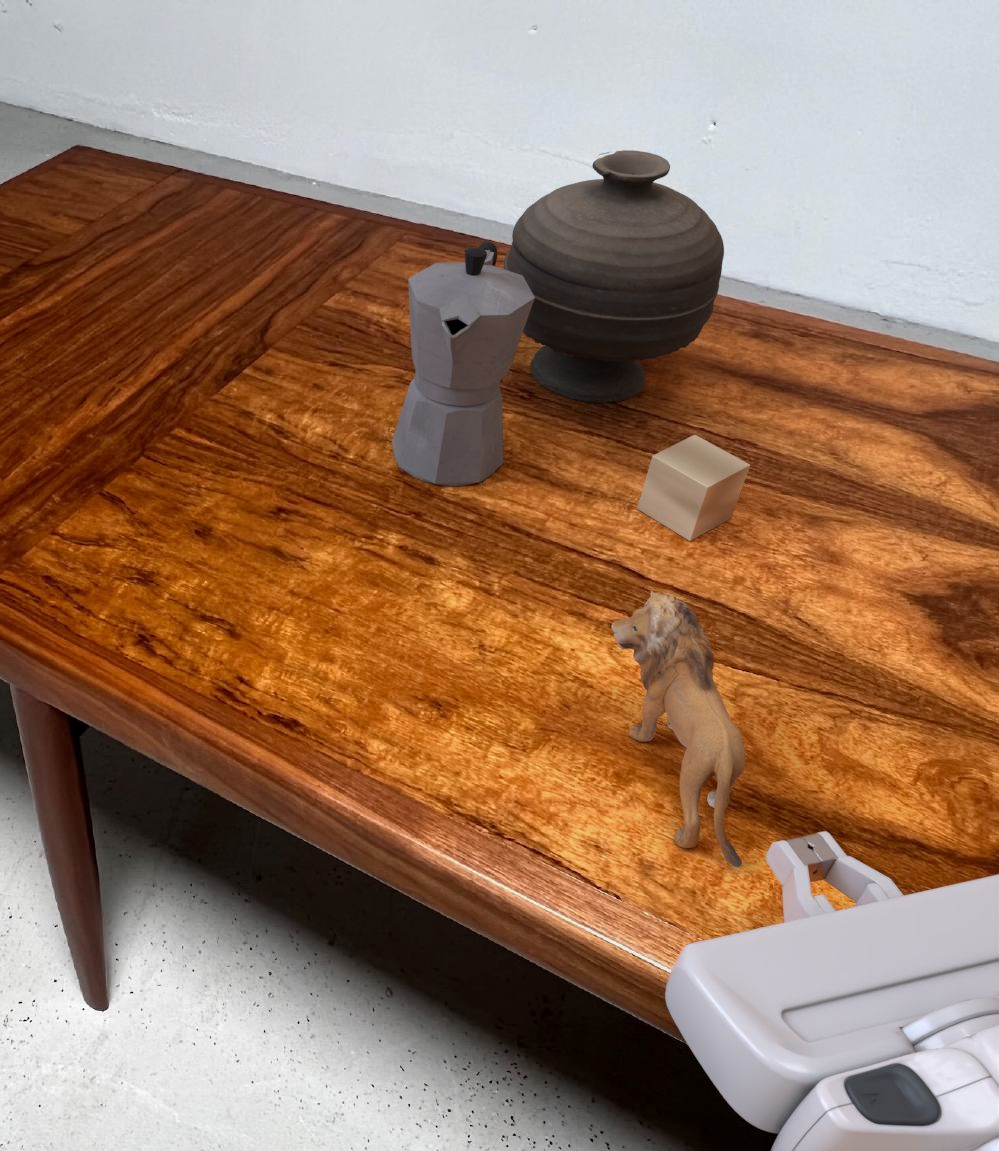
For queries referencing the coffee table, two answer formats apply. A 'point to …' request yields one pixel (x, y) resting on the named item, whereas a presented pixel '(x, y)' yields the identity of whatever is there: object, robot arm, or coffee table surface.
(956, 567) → the coffee table surface
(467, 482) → the coffeepot
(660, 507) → the beige block
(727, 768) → the lion figurine
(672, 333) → the pot
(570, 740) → the coffee table surface
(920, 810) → the coffee table surface
